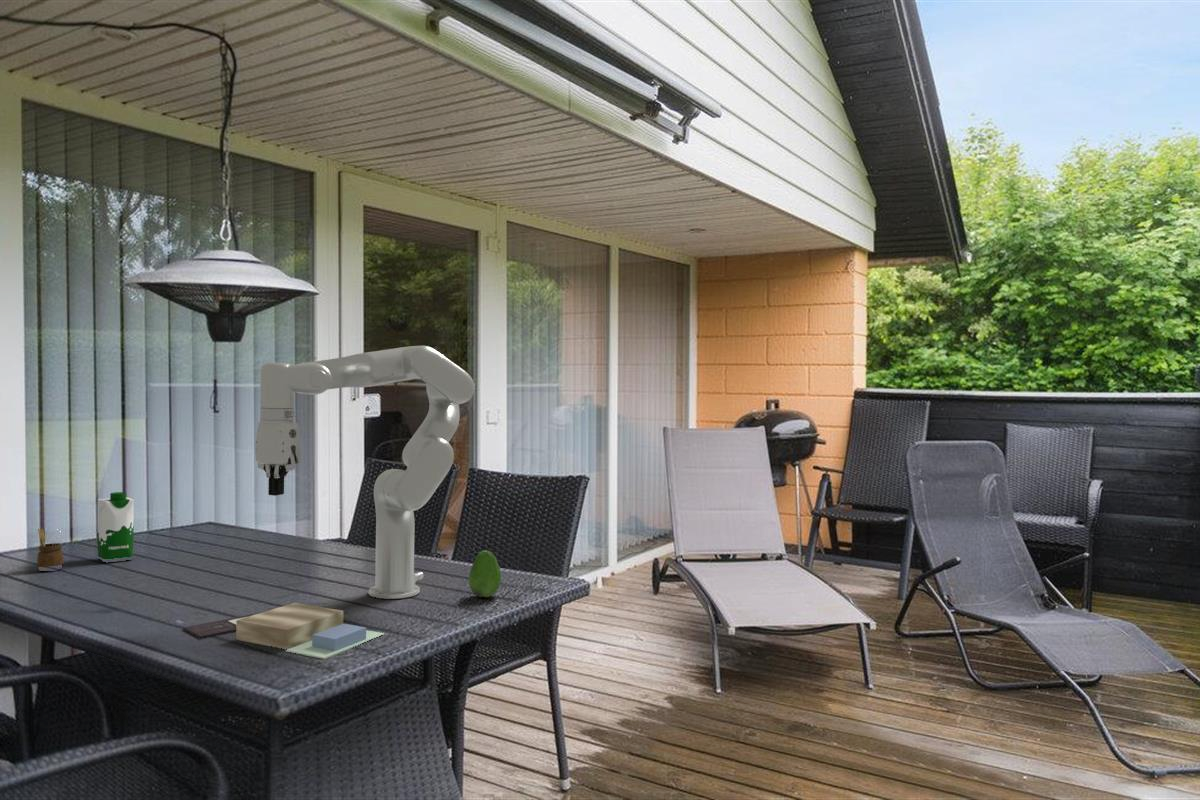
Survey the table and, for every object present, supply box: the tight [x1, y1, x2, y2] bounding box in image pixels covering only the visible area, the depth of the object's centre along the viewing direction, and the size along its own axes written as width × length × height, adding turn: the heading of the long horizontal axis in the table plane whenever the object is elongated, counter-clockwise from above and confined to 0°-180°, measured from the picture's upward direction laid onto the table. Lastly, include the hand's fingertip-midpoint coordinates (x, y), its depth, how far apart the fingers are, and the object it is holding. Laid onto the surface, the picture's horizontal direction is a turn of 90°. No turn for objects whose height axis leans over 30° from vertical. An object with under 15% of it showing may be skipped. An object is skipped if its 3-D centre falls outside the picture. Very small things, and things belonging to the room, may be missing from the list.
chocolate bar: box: [182, 612, 260, 640], centre depth 182 cm, size 9×1×18 cm
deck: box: [235, 602, 344, 650], centre depth 176 cm, size 16×14×4 cm
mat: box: [285, 629, 386, 660], centre depth 171 cm, size 18×10×1 cm, turn 156°
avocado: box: [468, 549, 502, 598], centre depth 210 cm, size 8×8×12 cm
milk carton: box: [96, 491, 135, 559], centre depth 244 cm, size 9×9×20 cm
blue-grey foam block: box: [312, 623, 367, 651], centre depth 170 cm, size 9×6×2 cm, turn 155°
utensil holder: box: [37, 528, 64, 568], centre depth 230 cm, size 6×6×12 cm
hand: (276, 494), depth 194 cm, fingers closed
